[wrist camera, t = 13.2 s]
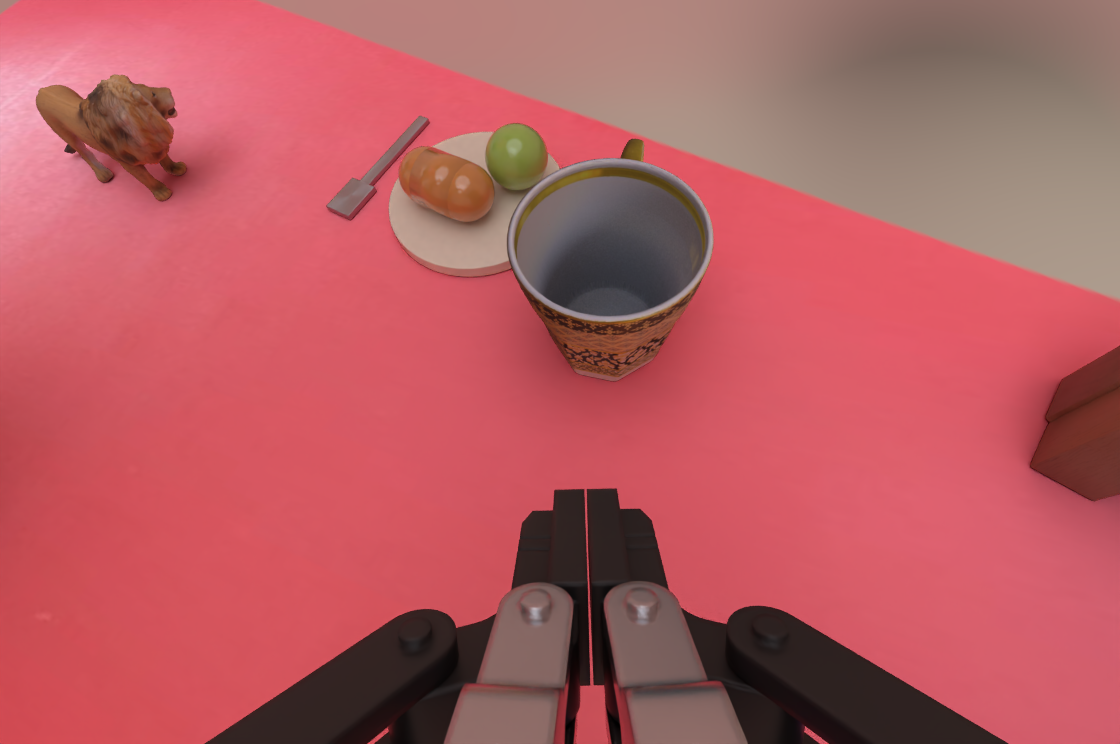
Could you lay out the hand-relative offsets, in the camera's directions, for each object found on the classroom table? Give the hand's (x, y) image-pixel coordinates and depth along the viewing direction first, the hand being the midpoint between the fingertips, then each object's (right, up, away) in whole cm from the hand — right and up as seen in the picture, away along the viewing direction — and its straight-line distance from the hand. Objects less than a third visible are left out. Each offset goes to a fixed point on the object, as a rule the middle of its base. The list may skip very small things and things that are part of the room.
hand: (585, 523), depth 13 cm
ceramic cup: (+3, +7, +23) cm, 25 cm away
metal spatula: (-14, +20, +31) cm, 39 cm away
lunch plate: (-7, +16, +28) cm, 33 cm away
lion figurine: (-34, +20, +33) cm, 51 cm away
